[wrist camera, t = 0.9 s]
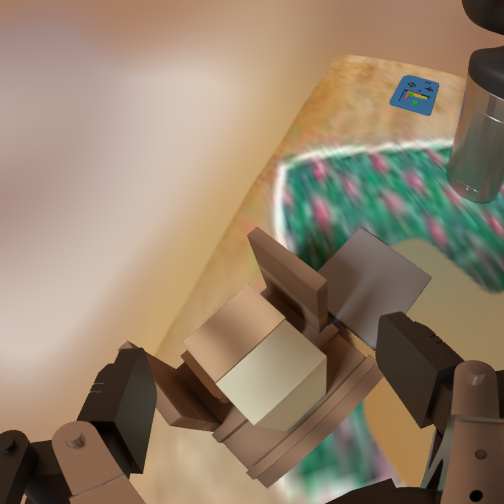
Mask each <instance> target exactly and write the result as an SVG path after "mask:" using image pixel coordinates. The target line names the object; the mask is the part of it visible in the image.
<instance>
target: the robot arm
mask: <svg viewBox="0 0 504 504" xmlns="http://www.w3.org/2000/svg"><path fill="white" fill-rule="evenodd" d="M462 4H463V8H464V10H465V12H466V14H467V16H468V17H469V19H470V20H471V21H473V22H474V23H475V24H476V25H478V26H480V27H482V28H484V29H487V30H489V31H492V32H495V33H498V34H501V35H504V0H462ZM447 177H448V180H449V182H450V184H451V185H452V187H453V188H454V189H455V190H456V191H457V192H458V193H459V194H461V195H462V196H463V197H465V198H467V199H469V200H471V201H474V202H478V203H488V202H491V201H493V200H494V199H495V198H496V197H497V195H498V193H499V191H500V189H501V187H502V184H503V182H504V46H501V47H496V48H487V49H479V50H476V51H474V52H473V53H472V54H471V57H470V61H469V68H468V75H467V81H466V87H465V93H464V99H463V104H462V109H461V114H460V119H459V124H458V128H457V132H456V137H455V141H454V145H453V149H452V153H451V156H450V160H449V164H448V168H447ZM376 362H377V365H378V368H379V369H380V371H381V372H382V374H383V375H384V376H385V378H386V379H387V381H388V382H389V384H390V385H391V386H392V388H393V389H394V391H395V392H396V394H397V395H398V396H399V398H400V399H401V401H402V402H403V404H404V405H405V407H406V408H407V410H408V411H409V412H410V414H411V415H412V417H413V418H414V420H415V421H416V423H417V424H418V426H419V427H420V428H421V429H422V428H424V427H427V426H429V425H432V424H434V426H435V427H436V429H435V431H434V434H433V439H432V444H431V449H430V453H429V458H428V462H427V466H426V470H425V474H424V477H423V480H422V483H421V486H420V488H419V487H399V488H396V487H395V485H394V483H393V481H392V479H391V478H390V479H387V480H384V481H381V482H378V483H375V484H372V485H369V486H366V487H362V488H359V489H356V490H352V491H350V492H348V493H346V494H344V495H342V496H340V497H338V498H336V499H334V500H332V501H330V502H328V503H326V504H504V370H501V371H495V370H494V369H493V368H492V367H491V366H490V365H488V364H486V363H484V362H481V361H476V360H470V361H464V360H463V359H462V358H461V357H460V356H459V355H458V354H456V352H455V351H453V350H452V349H451V348H450V347H449V346H448V345H447V344H446V343H445V342H443V341H442V339H440V338H439V337H438V336H436V334H435V333H434V332H433V331H432V330H431V329H429V328H428V327H427V326H425V325H422V324H420V323H418V322H416V321H415V322H413V321H412V320H411V319H410V318H409V317H407V316H406V315H405V314H404V313H403V312H402V311H398V312H394V313H389V314H385V315H381V316H380V318H379V322H378V333H377V343H376ZM156 403H157V389H156V384H155V381H154V378H153V375H152V372H151V368H150V365H149V362H148V359H147V356H146V353H145V351H144V349H143V348H126V349H121V350H120V351H119V353H118V356H117V358H116V360H115V362H114V364H108V365H106V366H105V367H104V368H103V369H102V370H101V371H100V372H99V373H98V375H97V377H96V379H95V382H94V385H93V386H92V388H91V390H90V393H89V394H88V397H87V399H86V401H85V403H84V405H83V407H82V410H81V412H80V414H79V416H78V418H77V420H76V421H74V422H70V423H67V424H65V425H63V426H62V427H60V428H59V429H58V430H57V431H56V432H55V434H54V436H53V438H52V440H48V441H41V442H33V443H30V441H29V440H28V438H27V437H26V435H25V434H24V433H22V432H21V431H17V430H10V431H6V432H3V433H2V434H0V504H20V503H21V500H22V497H23V494H25V495H26V496H27V498H26V501H25V504H146V503H145V502H144V500H143V499H142V498H141V496H140V495H139V494H138V492H137V491H136V490H135V488H134V487H133V485H132V484H131V483H130V481H129V478H130V473H135V474H143V470H144V465H145V459H146V453H147V448H148V443H149V438H150V432H151V427H152V422H153V417H154V412H155V408H156Z"/></svg>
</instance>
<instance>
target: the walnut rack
mask: <svg viewBox="0 0 504 504" xmlns="http://www.w3.org/2000/svg"><path fill="white" fill-rule="evenodd" d="M247 236H248V239H249V242H250V244H251V247H252V249H253V252H254V255H255V257H256V260H257V262H258V265H259V268H260V270H261V273H262V275H263V278H264V281H265V283H266V286H267V288H266V289H265V290H264V291H262V292H261V293H260V295H261V296H262V297H263V298H265V299H266V300H267V301H268V302H269V303H270V304H271V305H272V306H273V307H275V308H276V309H277V310H278V311H279V312H280V313H281V314H282V315H283V316H285V317H286V320H287V322H289V323H290V324H291V325H292V326H293V327H294V328H295V329H296V330H298V331H299V332H300V333H301V334H302V335H303V336H304V337H305V338H307V339H308V340H309V341H310V342H311V343H312V344H313V345H314V346H316V347H317V348H318V349H319V350H320V351H321V352H322V353H324V354H325V355H326V356H327V370H326V396H325V397H324V398H323V399H322V400H321V401H320V402H319V403H318V404H317V405H316V406H315V407H314V408H313V409H312V410H311V411H310V412H309V413H308V414H307V415H306V416H305V417H304V418H303V419H302V420H301V421H300V422H298V423H297V424H296V425H295V426H294V427H293V428H292V429H291V430H290V431H289V432H287V431H281V430H275V429H269V428H264V427H259V426H254V425H253V424H252V423H251V422H250V421H249V420H248V419H247V418H246V417H245V416H244V415H243V414H242V412H241V411H240V410H239V409H238V408H237V407H236V406H235V405H234V404H233V403H232V402H230V403H229V404H228V405H227V404H224V403H222V402H220V401H219V399H218V398H217V397H214V396H213V395H212V394H211V392H210V391H209V390H208V389H207V388H206V387H205V385H204V384H203V383H202V382H201V381H200V379H199V378H198V377H197V376H196V375H195V373H194V372H193V371H192V370H191V369H190V367H189V366H188V365H187V364H186V362H184V363H183V364H182V365H181V366H179V367H178V368H177V369H175V368H173V367H171V366H169V365H168V364H166V363H164V362H162V361H161V360H159V359H157V358H155V357H154V356H152V355H150V354H148V353H147V352H145V353H146V356H147V359H148V362H149V365H150V368H151V372H152V375H153V378H154V381H155V384H156V389H157V403H156V408H157V409H158V411H159V412H160V414H161V415H162V416H163V418H164V419H165V420H166V422H167V423H168V424H169V426H175V427H181V428H188V429H195V430H203V431H211V432H214V433H213V434H212V436H213V437H214V438H215V439H216V441H217V442H219V443H224V444H225V445H226V447H227V448H228V449H229V450H230V451H231V452H232V453H233V454H234V455H235V456H236V457H237V458H238V460H239V461H240V462H241V463H242V464H243V465H244V466H245V467H246V468H247V469H248V470H249V471H247V472H246V473H247V474H248V475H249V476H250V477H251V478H252V479H253V480H254V479H256V478H257V479H258V480H259V481H260V482H261V483H262V484H263V485H264V486H265V487H266V488H268V487H270V486H271V485H272V484H273V483H275V482H276V481H277V480H278V479H280V478H281V477H282V476H283V475H284V474H286V473H287V472H288V471H289V470H290V469H292V468H293V467H294V466H295V465H296V464H297V463H299V462H300V461H301V460H302V459H303V458H304V457H305V456H306V455H308V454H309V453H310V452H311V451H312V450H313V449H314V448H315V447H316V446H317V445H318V444H320V443H321V442H322V441H323V440H324V439H325V438H326V437H327V436H328V435H329V434H330V433H331V432H332V431H333V430H334V429H335V428H336V427H337V426H338V425H339V424H340V423H341V422H342V421H343V420H344V419H345V418H346V417H347V416H348V415H349V414H350V413H351V412H352V411H353V410H354V409H355V408H356V407H357V406H358V404H359V403H360V402H361V401H362V400H363V399H364V398H365V397H366V396H367V395H368V394H369V392H370V391H371V390H372V389H373V388H374V387H375V386H376V384H377V383H378V382H379V381H380V380H381V379H382V378H383V376H384V375H383V374H382V372H381V371H380V369H379V368H378V367H377V366H376V365H375V363H376V360H375V359H374V358H373V357H371V356H370V355H369V356H368V357H367V358H366V357H365V356H364V355H363V354H362V353H360V352H359V351H358V350H357V349H356V348H355V347H353V346H352V345H351V344H350V343H349V342H347V341H346V340H345V339H344V338H343V337H341V336H340V335H339V329H338V328H337V327H336V326H334V325H333V324H332V323H331V324H330V325H329V326H328V288H327V280H326V279H325V278H324V277H322V276H321V275H320V274H319V273H317V272H316V271H315V270H313V269H312V268H311V267H310V266H308V265H307V264H306V263H304V262H303V261H302V260H300V259H299V258H298V257H297V256H295V255H294V254H293V253H291V252H290V251H289V250H287V249H286V248H285V247H284V246H282V245H281V244H280V243H278V242H277V241H276V240H274V239H273V238H272V237H270V236H269V235H268V234H266V233H265V232H264V231H262V230H261V229H260V228H258V227H256V228H255V229H254V230H253V231H251V232H250V233H249V234H248V235H247ZM126 348H139V347H137V346H135V345H134V344H132V343H130V342H129V341H127V342H126V343H124V344H123V345H122V346H121V347H120V348H119V349H118V351H120V350H121V349H126Z"/></svg>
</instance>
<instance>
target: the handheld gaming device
mask: <svg viewBox="0 0 504 504" xmlns="http://www.w3.org/2000/svg"><path fill="white" fill-rule="evenodd" d="M438 87H439V83H437V82H433V81H430V80H427V79H423V78H419V77H416V76H411V75H407V76H404V77H403V78H402V79H401V81H400V83H399V85H398V87H397V89H396V91H395V92H394V94H393V96H392V98H391V100H390V105H392V106H396V107H400V108H403V109H407V110H410V111H413V112H417V113H420V114H423V115H427V116H429V115H430V114H431V111H432V108H433V105H434V101H435V98H436V94H437V91H438Z"/></svg>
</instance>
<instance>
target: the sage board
mask: <svg viewBox="0 0 504 504" xmlns="http://www.w3.org/2000/svg"><path fill="white" fill-rule="evenodd" d="M326 370H327V356H326V355H325V354H324V353H322V352H321V351H320V350H319V349H318V348H317V347H316V346H314V345H313V344H312V343H311V342H310V341H309V340H308V339H307V338H305V337H304V336H303V335H302V334H301V333H300V332H299V331H298V330H296V329H295V328H294V327H293V326H292V325H291V324H290V323H289V322H287V321H286V320H284V321H283V322H282V323H281V324H280V325H279V326H278V327H277V328H276V329H275V330H274V331H273V332H272V333H271V334H270V335H269V336H267V337H266V338H265V339H264V340H263V341H262V342H261V343H260V344H259V345H258V346H257V347H256V348H255V349H254V350H252V351H251V352H250V353H249V354H248V355H247V356H246V357H245V358H244V359H243V360H242V361H241V362H239V363H238V364H237V365H236V366H235V367H234V368H233V369H232V370H231V371H229V372H228V373H227V374H226V375H225V376H224V377H223V378H222V379H220V380H219V381H218V382H217V383H216V385H217V386H218V387H219V388H220V389H221V391H222V392H223V393H224V394H225V395H226V396H227V397H228V398H229V399H230V401H231V402H232V403H233V404H234V405H235V406H236V407H237V408H238V409H239V410H240V411H241V412H242V414H243V415H244V416H245V417H246V418H247V419H248V420H249V421H250V422H251V423H252V424H253V425H254V426H259V427H264V428H269V429H275V430H281V431H287V432H289V431H290V430H291V429H292V428H293V427H294V426H295V425H296V424H297V423H298V422H300V421H301V420H302V419H303V418H304V417H305V416H306V415H307V414H308V413H309V412H310V411H311V410H312V409H313V408H314V407H315V406H316V405H317V404H318V403H319V402H320V401H321V400H322V399H323V398H324V397H325V396H326Z"/></svg>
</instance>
